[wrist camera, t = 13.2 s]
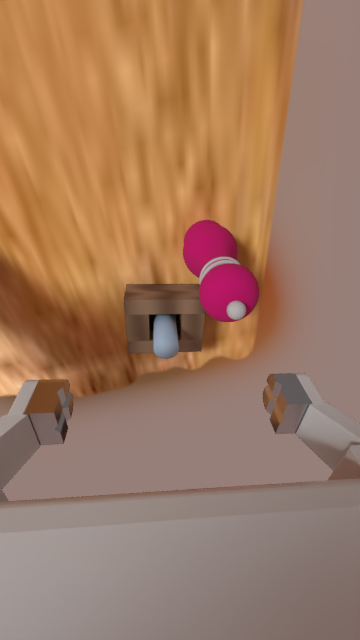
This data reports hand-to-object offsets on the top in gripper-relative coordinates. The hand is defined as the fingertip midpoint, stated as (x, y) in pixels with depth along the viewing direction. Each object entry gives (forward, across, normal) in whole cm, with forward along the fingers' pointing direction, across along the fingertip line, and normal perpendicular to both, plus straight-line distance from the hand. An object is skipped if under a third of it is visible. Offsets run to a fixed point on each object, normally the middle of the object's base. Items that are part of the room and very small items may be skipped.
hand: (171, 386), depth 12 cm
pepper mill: (+33, -7, +5) cm, 34 cm away
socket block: (+32, -1, +17) cm, 37 cm away
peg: (+32, -1, +17) cm, 37 cm away
